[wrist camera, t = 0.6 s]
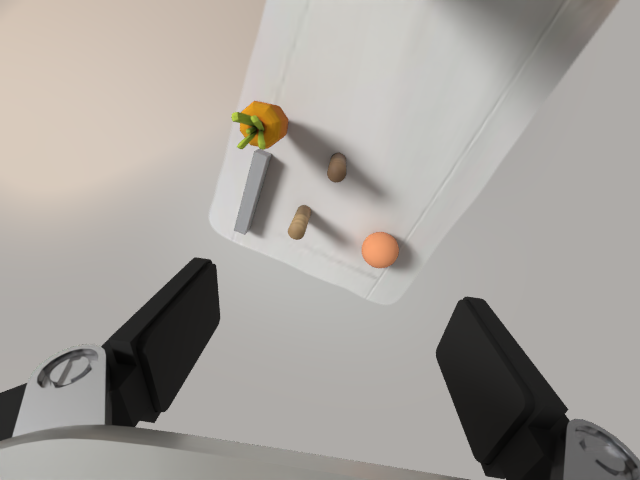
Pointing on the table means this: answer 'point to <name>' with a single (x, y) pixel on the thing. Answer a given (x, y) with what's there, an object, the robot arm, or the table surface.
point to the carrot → (261, 124)
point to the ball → (380, 250)
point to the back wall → (252, 190)
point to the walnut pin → (337, 168)
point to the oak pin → (299, 222)
